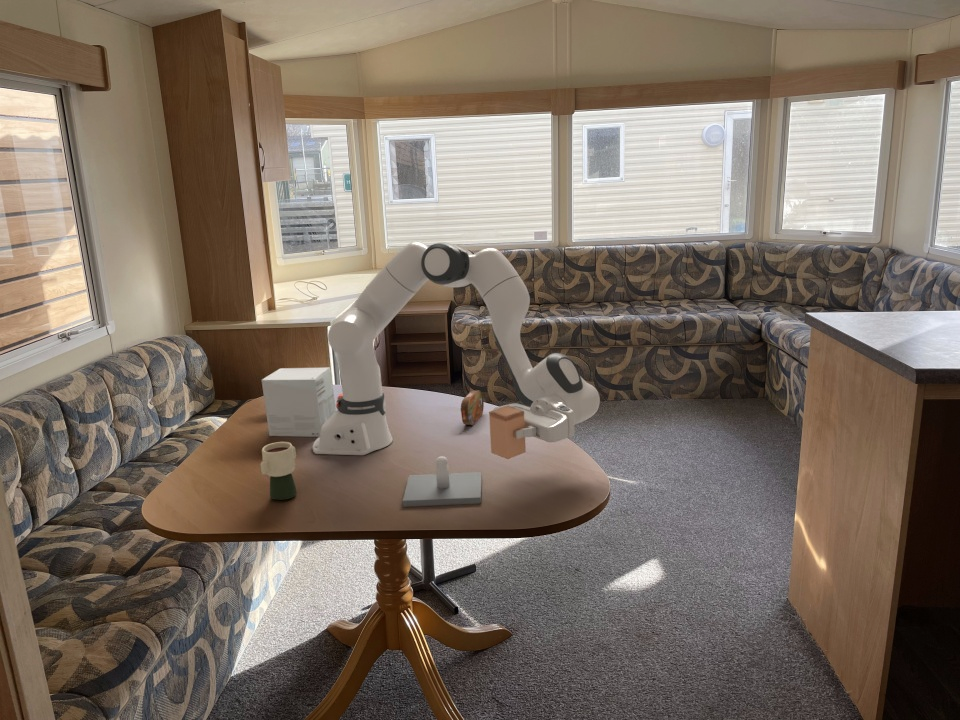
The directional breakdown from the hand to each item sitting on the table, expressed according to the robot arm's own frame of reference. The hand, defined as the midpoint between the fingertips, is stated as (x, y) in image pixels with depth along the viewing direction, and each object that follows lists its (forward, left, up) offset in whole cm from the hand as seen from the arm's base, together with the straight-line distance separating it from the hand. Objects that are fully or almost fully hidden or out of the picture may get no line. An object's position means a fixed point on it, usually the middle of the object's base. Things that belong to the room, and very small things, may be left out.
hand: (504, 431), depth 160 cm
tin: (-9, +54, -17) cm, 57 cm away
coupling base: (-15, +5, -17) cm, 23 cm away
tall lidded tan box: (+1, +1, -6) cm, 6 cm away
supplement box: (-61, +53, -17) cm, 82 cm away
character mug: (-54, +6, -17) cm, 57 cm away
